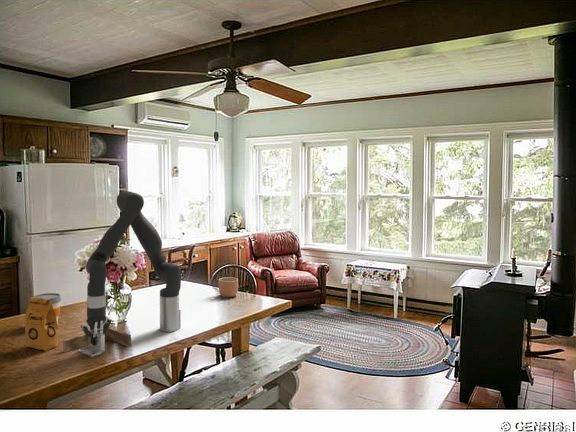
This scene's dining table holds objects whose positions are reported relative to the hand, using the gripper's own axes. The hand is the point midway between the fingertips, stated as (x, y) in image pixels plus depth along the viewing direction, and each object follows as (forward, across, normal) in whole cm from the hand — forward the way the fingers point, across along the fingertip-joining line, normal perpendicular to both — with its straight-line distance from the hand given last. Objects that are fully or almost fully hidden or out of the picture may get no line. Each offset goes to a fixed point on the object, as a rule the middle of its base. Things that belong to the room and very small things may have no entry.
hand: (96, 344), depth 193 cm
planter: (+2, +101, +18) cm, 103 cm away
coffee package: (+3, -13, +22) cm, 25 cm away
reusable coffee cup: (+3, +2, +48) cm, 49 cm away
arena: (+3, +1, +1) cm, 3 cm away
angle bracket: (+3, -2, 0) cm, 4 cm away
